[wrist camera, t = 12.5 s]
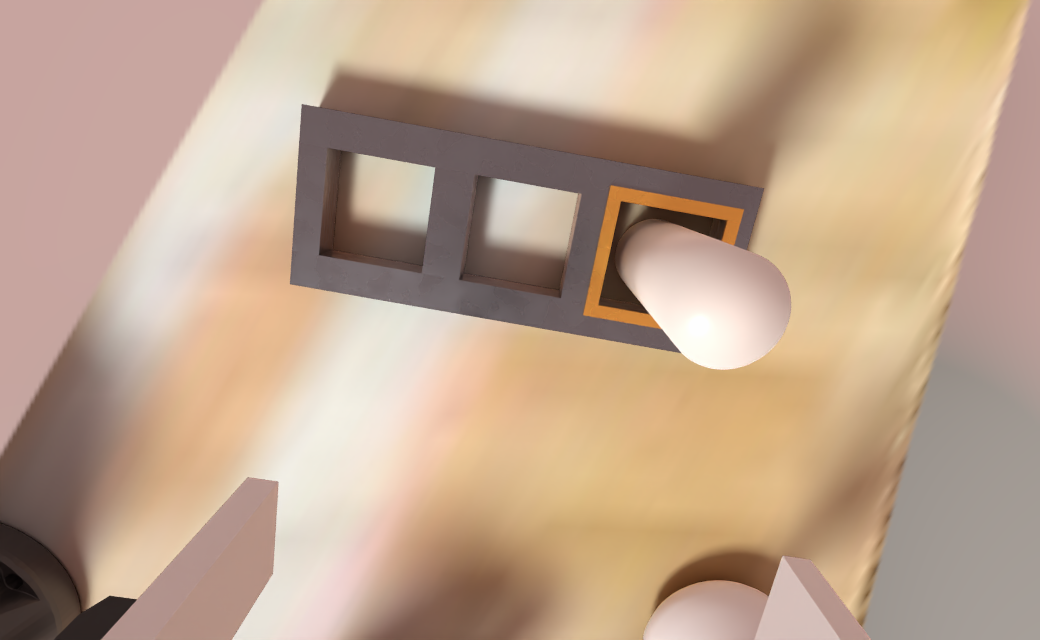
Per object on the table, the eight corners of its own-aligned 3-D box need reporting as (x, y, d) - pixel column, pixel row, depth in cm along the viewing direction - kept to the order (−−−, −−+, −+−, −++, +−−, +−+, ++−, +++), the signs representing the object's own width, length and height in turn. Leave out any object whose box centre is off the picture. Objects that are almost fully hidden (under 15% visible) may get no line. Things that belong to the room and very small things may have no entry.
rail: (305, 276, 38) (288, 284, 35) (317, 108, 35) (300, 103, 32) (704, 347, 38) (716, 360, 36) (748, 187, 35) (765, 188, 33)
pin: (607, 286, 37) (653, 358, 23) (624, 212, 36) (683, 239, 22) (679, 299, 37) (770, 378, 23) (698, 226, 36) (807, 261, 22)
